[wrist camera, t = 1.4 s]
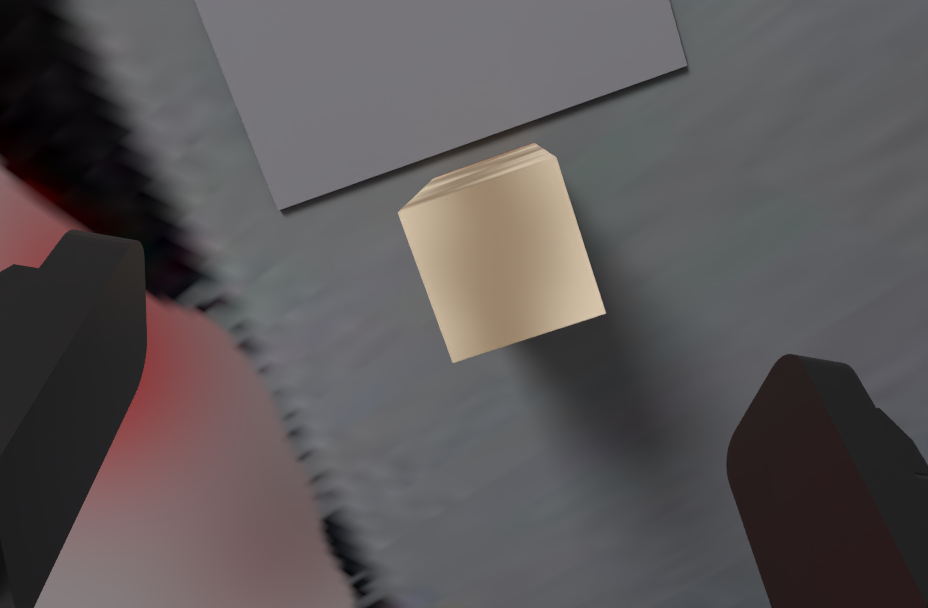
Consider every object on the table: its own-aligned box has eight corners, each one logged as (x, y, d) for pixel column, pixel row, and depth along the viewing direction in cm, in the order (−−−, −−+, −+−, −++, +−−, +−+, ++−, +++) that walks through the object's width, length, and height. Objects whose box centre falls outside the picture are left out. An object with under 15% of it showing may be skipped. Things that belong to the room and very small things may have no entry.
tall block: (534, 142, 37) (556, 157, 24) (566, 243, 38) (606, 313, 25) (433, 178, 38) (397, 212, 24) (468, 276, 39) (452, 362, 25)
